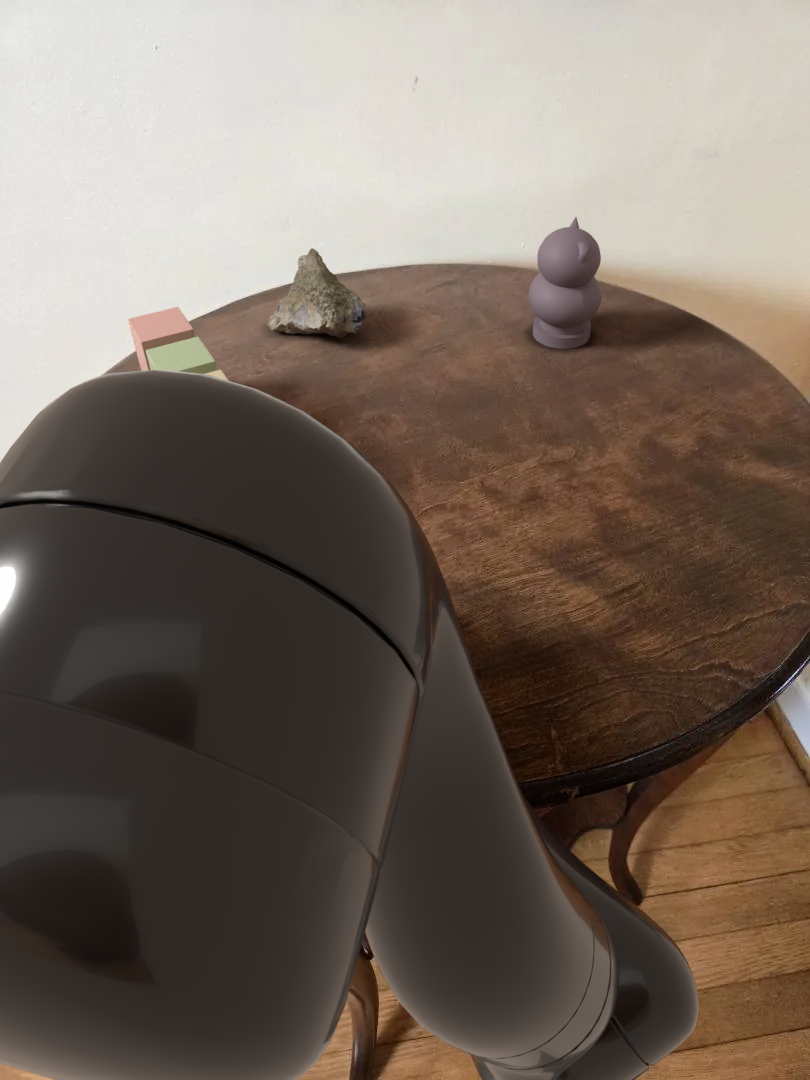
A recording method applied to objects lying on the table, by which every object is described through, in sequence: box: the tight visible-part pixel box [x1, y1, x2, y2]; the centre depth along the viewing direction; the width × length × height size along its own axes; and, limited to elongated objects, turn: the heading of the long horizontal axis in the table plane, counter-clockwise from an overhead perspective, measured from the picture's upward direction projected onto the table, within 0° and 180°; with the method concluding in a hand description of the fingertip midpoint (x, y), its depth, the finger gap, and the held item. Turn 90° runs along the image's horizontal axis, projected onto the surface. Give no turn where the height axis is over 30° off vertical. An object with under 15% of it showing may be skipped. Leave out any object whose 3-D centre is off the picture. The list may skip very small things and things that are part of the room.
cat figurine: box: [528, 216, 603, 350], centre depth 91 cm, size 8×8×12 cm
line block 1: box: [127, 306, 196, 371], centre depth 83 cm, size 5×5×9 cm
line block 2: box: [146, 336, 218, 374], centre depth 79 cm, size 5×5×9 cm
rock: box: [266, 247, 367, 338], centre depth 95 cm, size 11×6×10 cm
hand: (295, 554), depth 60 cm, fingers closed on teal block, 5 cm apart
